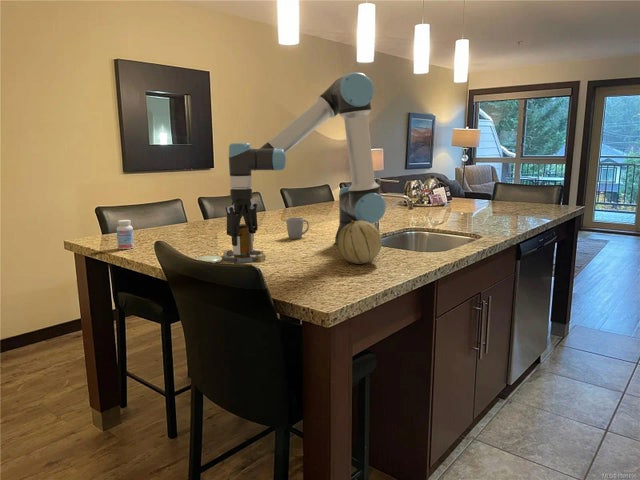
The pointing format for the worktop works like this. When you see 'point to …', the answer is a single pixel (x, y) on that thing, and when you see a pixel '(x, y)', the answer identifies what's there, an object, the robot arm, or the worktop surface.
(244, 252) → the condiment
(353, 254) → the cantaloupe
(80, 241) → the worktop surface
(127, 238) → the pill bottle
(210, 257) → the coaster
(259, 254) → the collar
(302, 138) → the robot arm
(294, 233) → the cup
